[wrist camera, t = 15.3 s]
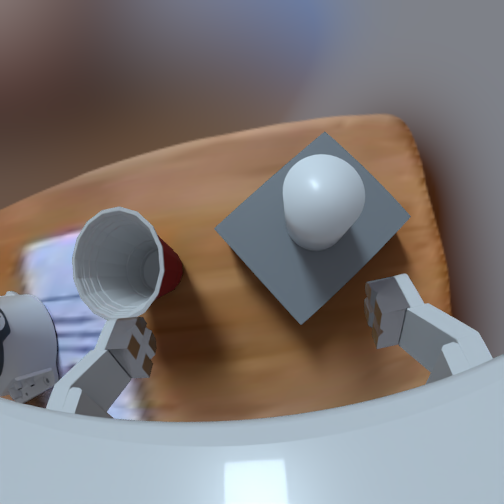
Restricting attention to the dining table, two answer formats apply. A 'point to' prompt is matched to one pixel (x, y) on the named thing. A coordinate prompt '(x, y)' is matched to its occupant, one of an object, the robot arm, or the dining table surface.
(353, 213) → the white rounded domed part
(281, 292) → the shelf
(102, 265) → the plastic cup
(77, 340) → the dining table surface
